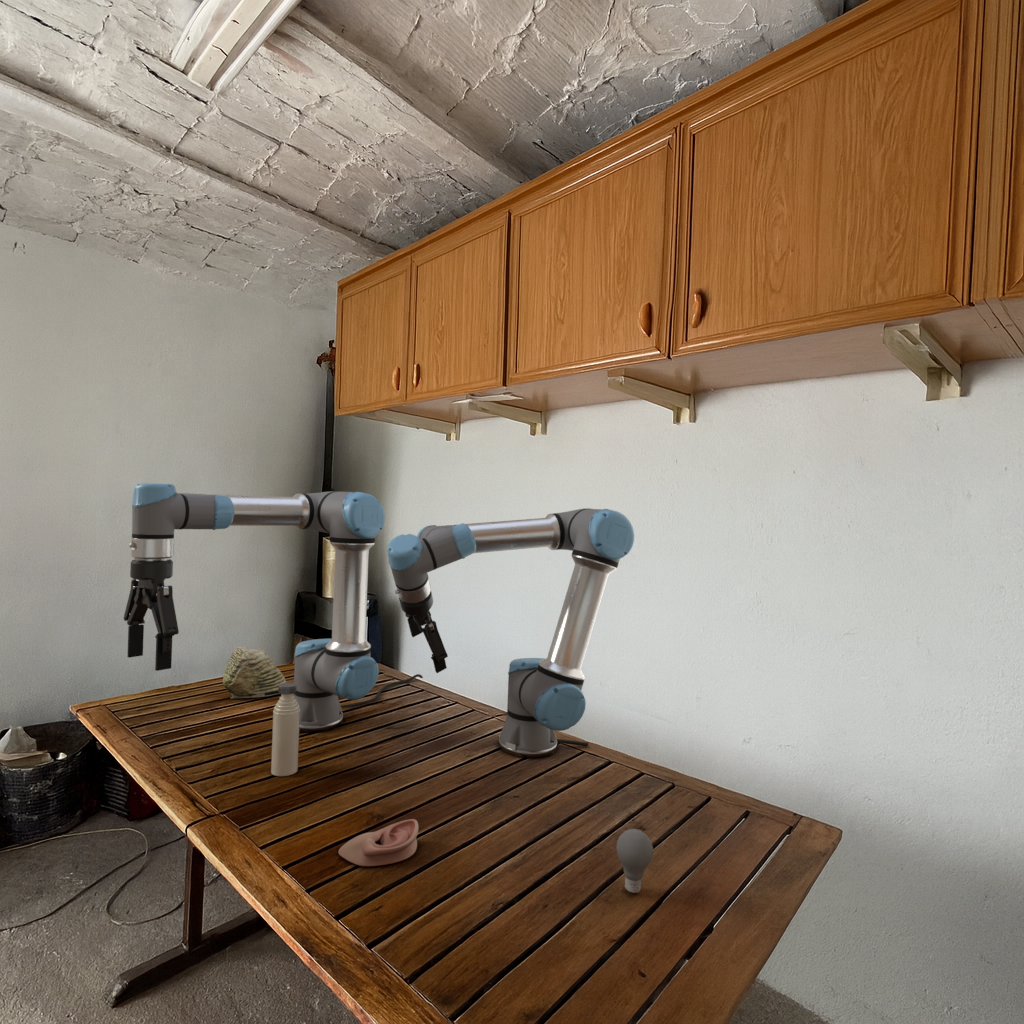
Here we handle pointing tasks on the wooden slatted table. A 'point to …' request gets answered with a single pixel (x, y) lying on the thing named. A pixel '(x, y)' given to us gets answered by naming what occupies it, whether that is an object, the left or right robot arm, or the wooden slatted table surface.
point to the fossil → (251, 674)
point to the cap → (287, 688)
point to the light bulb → (634, 857)
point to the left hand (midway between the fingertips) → (148, 662)
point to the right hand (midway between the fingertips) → (428, 651)
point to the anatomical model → (382, 845)
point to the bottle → (285, 736)
